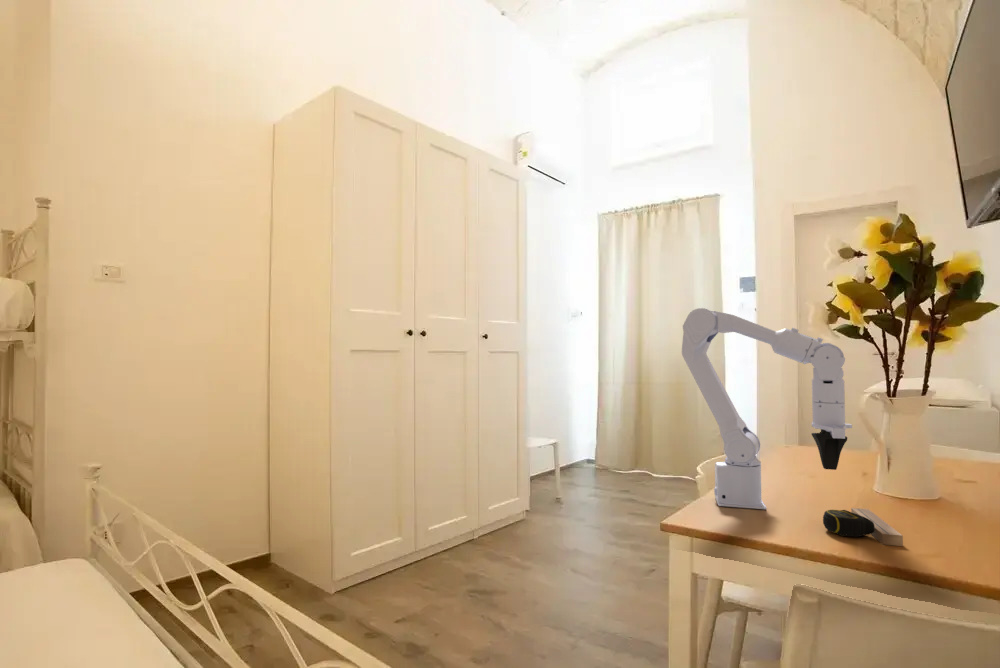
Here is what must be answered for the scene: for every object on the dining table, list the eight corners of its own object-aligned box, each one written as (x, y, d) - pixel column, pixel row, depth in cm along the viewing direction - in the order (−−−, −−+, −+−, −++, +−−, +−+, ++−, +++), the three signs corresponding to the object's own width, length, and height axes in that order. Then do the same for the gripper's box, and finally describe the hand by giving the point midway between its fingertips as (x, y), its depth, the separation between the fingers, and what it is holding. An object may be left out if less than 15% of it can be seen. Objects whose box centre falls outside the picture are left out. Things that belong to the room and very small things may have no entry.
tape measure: (877, 539, 95) (876, 518, 96) (842, 541, 95) (841, 520, 95) (847, 527, 102) (847, 507, 102) (814, 528, 101) (814, 508, 101)
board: (882, 544, 93) (882, 533, 93) (851, 516, 108) (851, 507, 108) (903, 546, 92) (902, 535, 92) (868, 518, 107) (868, 508, 107)
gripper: (862, 406, 102) (864, 478, 101) (840, 399, 115) (841, 462, 115) (820, 405, 104) (822, 475, 103) (803, 398, 118) (804, 460, 117)
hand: (829, 468), depth 109 cm, fingers closed
